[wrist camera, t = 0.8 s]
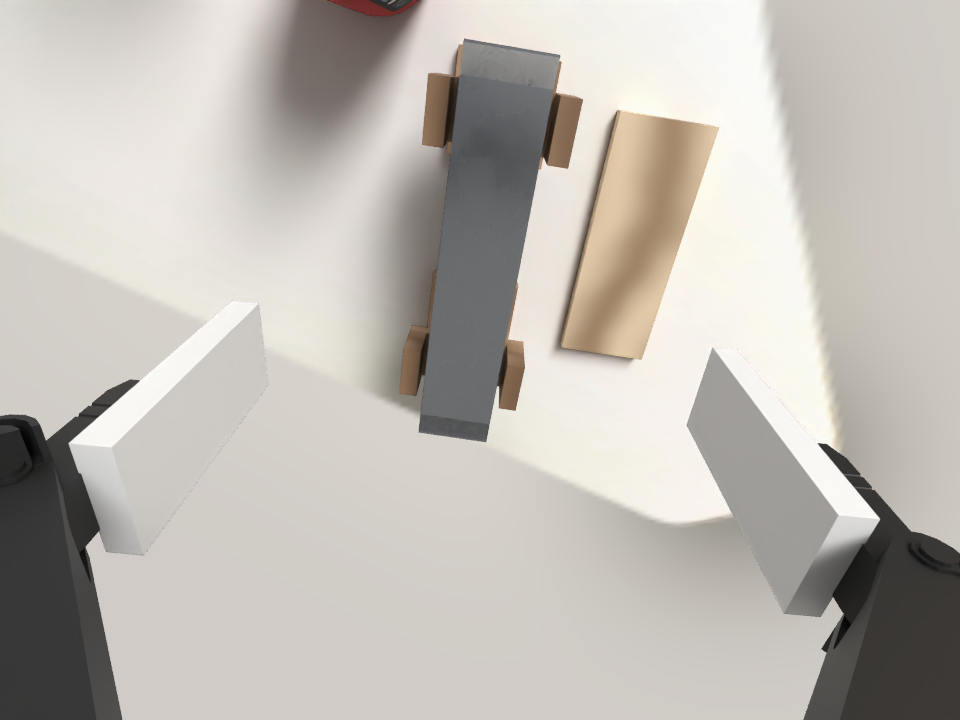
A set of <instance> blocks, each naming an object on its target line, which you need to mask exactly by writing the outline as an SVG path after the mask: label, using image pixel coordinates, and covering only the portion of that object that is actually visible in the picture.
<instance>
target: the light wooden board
mask: <svg viewBox="0 0 960 720" xmlns="http://www.w3.org/2000/svg"><path fill="white" fill-rule="evenodd" d="M718 129H719V127H715V126H710V125H704V124H698V123H692V122H686V121H680V120H675V119H669V118H663V117H657V116H651V115H645V114H639V113H633V112H627V111H621V110H618V111H617V115H616V119H615V123H614V127H613V131H612V135H611V139H610V143H609V147H608V151H607V155H606V159H605V163H604V168H603V172H602V176H601V180H600V184H599V188H598V192H597V196H596V200H595V204H594V208H593V212H592V216H591V220H590V224H589V228H588V232H587V236H586V240H585V244H584V248H583V252H582V257H581V261H580V265H579V269H578V273H577V277H576V281H575V285H574V289H573V293H572V297H571V301H570V305H569V309H568V313H567V317H566V321H565V325H564V329H563V333H562V337H561V346H562V348H568V349H575V350H582V351H588V352H595V353H601V354H608V355H614V356H621V357H627V358H634V359H641V360H642V357H643V354H644V351H645V348H646V345H647V342H648V339H649V336H650V333H651V330H652V327H653V324H654V321H655V318H656V315H657V312H658V309H659V306H660V303H661V300H662V297H663V294H664V291H665V288H666V285H667V282H668V279H669V276H670V273H671V270H672V267H673V264H674V261H675V258H676V255H677V252H678V249H679V246H680V243H681V240H682V237H683V234H684V231H685V228H686V225H687V222H688V219H689V216H690V213H691V210H692V207H693V204H694V201H695V198H696V195H697V192H698V189H699V186H700V183H701V180H702V177H703V174H704V171H705V168H706V165H707V162H708V159H709V156H710V153H711V150H712V147H713V144H714V141H715V138H716V135H717V132H718Z"/></svg>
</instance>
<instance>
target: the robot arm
mask: <svg viewBox="0 0 960 720" xmlns="http://www.w3.org/2000/svg"><path fill="white" fill-rule="evenodd" d="M267 387H268V378H267V369H266V360H265V352H264V343H263V335H262V326H261V317H260V309H259V303H249V302H239V301H231V302H230V303H229V304H228V305H227V306H226V307H225V308H223V309H222V310H221V311H220V312H219V313H218V314H216V315H215V316H214V317H213V318H212V319H211V320H210V321H208V322H207V323H206V324H205V325H204V326H203V327H202V328H200V329H199V330H198V331H197V332H196V333H195V334H193V335H192V336H191V337H190V338H189V339H188V340H187V341H185V342H184V343H183V344H182V345H181V346H180V347H179V348H177V349H176V350H175V351H174V352H173V353H172V354H171V355H169V356H168V357H167V358H166V359H165V360H164V361H163V362H161V363H160V364H159V365H158V366H157V367H156V368H154V369H153V370H152V371H151V372H150V373H149V374H148V375H146V376H145V377H144V378H143V379H142V380H141V381H140V380H128V381H126V382H124V383H122V384H120V385H118V386H116V387H113V388H111V389H109V390H107V391H106V392H105V393H104V394H103V395H101V396H100V397H99V398H98V399H96V400H95V401H94V402H93V403H92V406H88V407H87V408H86V409H84V410H83V411H82V412H81V413H79V416H78V417H74V418H73V419H72V420H71V421H70V422H68V423H67V424H66V425H65V426H64V427H62V428H61V429H60V430H59V431H58V432H56V433H55V434H54V435H53V436H51V437H50V438H49V439H48V440H47V441H46V440H45V437H44V434H43V432H42V429H41V426H40V424H39V423H38V421H37V420H36V419H35V418H32V417H29V416H26V415H5V416H0V720H122V716H121V710H120V706H119V701H118V696H117V691H116V686H115V681H114V676H113V671H112V666H111V661H110V657H109V652H108V646H107V642H106V637H105V632H104V627H103V622H102V617H101V612H100V607H99V602H98V597H97V592H96V588H95V583H94V578H93V573H92V568H91V563H90V558H89V555H88V553H87V550H86V545H87V544H88V543H89V542H90V541H91V540H92V538H93V537H94V536H95V535H96V534H97V533H98V532H99V533H100V536H101V538H102V542H103V544H104V547H105V550H106V552H112V553H122V554H133V555H145V553H146V552H147V551H148V549H149V548H150V547H151V545H152V544H153V542H154V541H155V539H156V538H157V537H158V536H159V534H160V533H161V532H162V530H163V529H164V527H165V526H166V524H167V523H168V522H169V521H170V519H171V518H172V517H173V515H174V514H175V512H176V511H177V510H178V508H179V507H180V506H181V504H182V503H183V501H184V500H185V499H186V497H187V496H188V495H189V493H190V492H191V490H192V489H193V488H194V486H195V485H196V484H197V482H198V481H199V480H200V478H201V477H202V475H203V474H204V472H205V471H206V470H207V469H208V467H209V466H210V464H211V463H212V462H213V460H214V459H215V458H216V456H217V455H218V454H219V452H220V451H221V449H222V448H223V447H224V445H225V444H226V443H227V441H228V440H229V438H230V437H231V436H232V434H233V433H234V432H235V430H236V429H237V428H238V426H239V425H240V424H241V422H242V421H243V419H244V418H245V417H246V415H247V414H248V412H249V411H250V410H251V408H252V407H253V406H254V404H255V403H256V402H257V400H258V399H259V397H260V396H261V395H262V393H263V392H264V391H265V389H266V388H267ZM687 427H688V429H689V431H690V432H691V434H692V436H693V438H694V440H695V442H696V444H697V446H698V448H699V450H700V452H701V454H702V456H703V458H704V460H705V462H706V464H707V466H708V467H709V469H710V471H711V473H712V475H713V477H714V479H715V481H716V483H717V485H718V487H719V489H720V491H721V493H722V495H723V497H724V499H725V500H726V502H727V504H728V506H729V508H730V510H731V512H732V514H733V516H734V518H735V520H736V522H737V524H738V526H739V528H740V530H741V531H742V533H743V535H744V537H745V539H746V541H747V543H748V545H749V547H750V549H751V551H752V553H753V555H754V557H755V559H756V561H757V562H758V564H759V566H760V568H761V570H762V572H763V574H764V576H765V578H766V580H767V582H768V584H769V586H770V588H771V590H772V592H773V594H774V596H775V598H776V599H777V602H778V603H779V605H780V607H781V609H782V611H783V613H784V614H792V615H803V616H815V617H821V616H822V614H823V612H824V610H825V609H826V607H827V606H828V604H829V602H830V601H831V599H832V598H833V597H834V599H835V601H836V602H837V604H838V605H839V607H840V609H841V610H842V612H843V613H844V614H843V616H842V617H841V619H840V621H839V622H838V624H837V625H836V627H835V628H834V630H833V632H832V633H831V635H830V636H829V638H828V639H827V641H826V642H825V644H824V646H823V647H822V650H823V651H825V652H827V654H826V656H825V660H824V662H823V665H822V668H821V671H820V674H819V677H818V679H817V682H816V685H815V688H814V691H813V694H812V697H811V700H810V702H809V705H808V709H807V711H806V714H805V717H804V720H960V553H958V552H957V551H956V550H955V549H954V548H952V547H950V546H948V545H947V544H945V543H943V542H941V541H940V540H938V539H935V538H933V537H930V536H927V535H924V534H922V533H917V532H911V531H910V530H909V529H908V528H907V526H906V525H905V524H904V523H903V522H902V521H901V520H900V519H899V517H898V516H897V515H896V514H895V513H894V512H893V511H892V509H891V508H890V507H889V506H888V505H887V504H886V503H885V502H884V501H883V499H882V498H881V497H880V496H879V495H878V494H877V492H876V491H875V490H872V487H871V486H870V484H869V483H868V482H867V481H866V480H865V479H864V478H863V477H860V473H859V472H858V471H857V470H856V468H855V467H854V466H853V465H852V464H851V463H850V462H849V461H848V459H847V458H845V457H844V456H842V455H841V454H840V453H838V452H837V451H835V450H834V449H833V448H831V447H830V446H828V445H827V444H820V443H816V442H815V440H814V439H813V438H812V437H811V436H810V434H809V433H808V432H807V431H806V430H805V428H804V427H803V426H802V425H801V424H800V422H799V421H798V420H797V419H796V418H795V416H794V415H793V414H792V413H791V412H790V410H789V409H788V408H787V407H786V406H785V404H784V403H783V402H782V401H781V400H780V398H779V397H778V396H777V395H776V394H775V392H774V391H773V390H772V389H771V388H770V386H769V385H768V384H767V383H766V382H765V380H764V379H763V378H762V377H761V376H760V375H759V373H758V372H757V371H756V370H755V369H754V367H753V366H752V365H751V364H750V363H749V361H748V360H747V359H746V358H745V357H744V355H743V354H742V353H741V352H740V351H739V350H735V349H724V348H714V347H713V348H712V351H711V354H710V357H709V360H708V363H707V366H706V369H705V372H704V375H703V378H702V381H701V384H700V387H699V390H698V393H697V396H696V399H695V402H694V405H693V408H692V411H691V414H690V417H689V420H688V423H687Z"/></svg>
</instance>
